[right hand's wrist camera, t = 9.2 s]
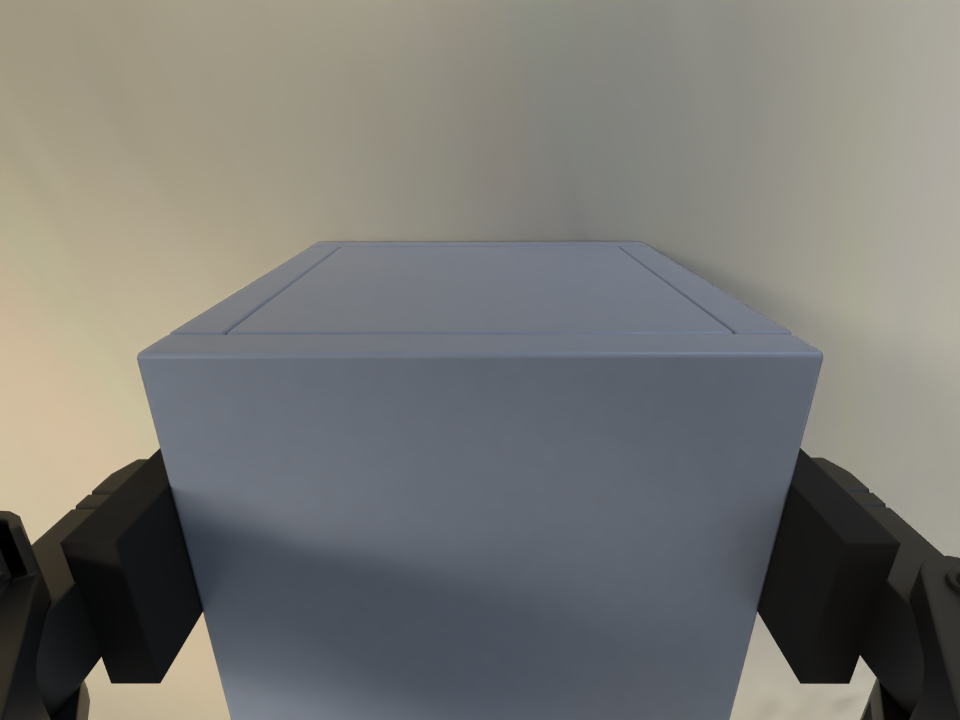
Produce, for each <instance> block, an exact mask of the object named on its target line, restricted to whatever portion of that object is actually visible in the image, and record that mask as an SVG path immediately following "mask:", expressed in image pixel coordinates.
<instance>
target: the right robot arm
mask: <svg viewBox="0 0 960 720" xmlns="http://www.w3.org/2000/svg"><path fill="white" fill-rule="evenodd" d="M202 612H203V609H202V606H201V602H200V598H199V594H198V590H197V586H196V583H195V579H194V575H193V571H192V567H191V563H190V560H189V556H188V552H187V548H186V544H185V540H184V537H183V533H182V529H181V525H180V521H179V517H178V514H177V510H176V506H175V502H174V498H173V494H172V491H171V487H170V483H169V479H168V475H167V471H166V468H165V464H164V460H163V456H162V452H161V448H160V449H159V450H158V451H157V452H156V453H155V454H153V455H152V456H151V457H150V458H149V459H138V460H136V461H134V462H133V463H131V464H129V465H127V466H125V467H124V468H122V469H120V470H118V471H116V472H114V473H113V474H111V475H110V476H109V477H108V478H107V479H105V480H104V481H103V482H102V483H101V484H100V485H99V486H98V487H96V488H95V489H94V490H93V491H92V495H88V496H86V497H85V498H84V499H83V500H82V501H81V502H80V503H79V504H77V505H76V509H75V510H71V511H70V512H68V513H67V514H66V515H65V516H64V517H63V518H62V519H61V520H59V521H58V522H57V523H56V524H55V525H54V526H53V527H52V528H51V529H49V530H48V531H47V532H46V533H45V534H44V535H43V536H42V537H40V538H39V539H38V540H37V541H36V542H35V543H34V544H33V545H31V544H30V541H29V539H28V536H27V534H26V531H25V529H24V526H23V523H22V521H21V518H20V516H18V515H16V514H14V513H12V512H10V511H0V720H88V713H89V704H90V699H89V693H88V689H87V686H86V684H85V681H84V679H85V678H86V677H87V675H88V674H89V673H90V671H91V670H92V669H93V667H94V666H95V665H96V663H97V662H98V661H99V659H100V658H101V656H102V659H103V662H104V665H105V667H106V670H107V673H108V675H109V678H110V681H111V683H161V681H162V679H163V678H164V676H165V674H166V673H167V671H168V669H169V668H170V666H171V664H172V663H173V661H174V659H175V658H176V656H177V654H178V653H179V651H180V649H181V648H182V646H183V644H184V642H185V641H186V639H187V637H188V636H189V634H190V632H191V631H192V629H193V627H194V626H195V624H196V622H197V621H198V619H199V617H200V616H201V614H202ZM758 613H759V615H760V616H761V618H762V620H763V621H764V623H765V625H766V626H767V628H768V630H769V631H770V633H771V635H772V637H773V638H774V640H775V642H776V643H777V645H778V647H779V648H780V650H781V652H782V653H783V655H784V657H785V658H786V660H787V662H788V663H789V665H790V667H791V668H792V670H793V672H794V674H795V675H796V677H797V679H798V680H799V682H800V684H849V683H850V680H851V677H852V675H853V672H854V669H855V667H856V664H857V661H858V658H859V656H861V657H862V658H863V660H864V661H865V662H866V664H867V665H868V666H869V668H870V669H871V670H872V672H873V673H874V674H875V676H876V677H877V679H876V681H875V684H874V686H873V689H872V691H871V694H870V696H869V699H868V702H867V704H866V707H865V709H864V712H863V714H862V717H861V719H860V720H960V558H957V557H952V556H944V555H942V554H941V553H940V552H939V551H938V550H937V549H936V548H935V547H933V546H932V545H931V544H930V543H929V542H928V541H927V540H926V539H924V538H923V537H922V536H921V535H920V534H919V533H918V532H916V531H915V530H914V529H913V528H912V527H911V526H910V525H909V524H907V523H906V522H905V521H904V520H903V519H902V518H901V517H900V516H898V515H897V514H896V513H895V512H894V511H893V510H892V509H891V508H886V506H885V503H884V502H883V501H881V500H880V499H879V498H878V497H877V496H876V495H875V494H874V493H869V489H868V488H867V487H866V486H865V485H863V484H862V483H861V482H860V481H859V480H858V479H857V478H856V477H854V476H853V475H852V474H851V473H850V472H848V471H846V470H844V469H843V468H841V467H839V466H837V465H835V464H833V463H832V462H830V461H828V460H826V459H824V458H810V457H809V456H808V455H807V454H806V453H805V452H804V451H803V450H802V449H801V448H800V449H799V453H798V457H797V461H796V464H795V468H794V472H793V476H792V480H791V484H790V488H789V491H788V495H787V499H786V503H785V507H784V511H783V515H782V518H781V522H780V526H779V530H778V534H777V538H776V542H775V545H774V549H773V553H772V557H771V561H770V565H769V569H768V572H767V576H766V580H765V584H764V588H763V592H762V596H761V599H760V603H759V607H758Z"/></svg>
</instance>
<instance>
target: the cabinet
mask: <svg viewBox="0 0 960 720" xmlns="http://www.w3.org/2000/svg"><path fill="white" fill-rule="evenodd" d="M137 360H138V364H139V368H140V372H141V375H142V379H143V383H144V387H145V391H146V395H147V398H148V402H149V406H150V410H151V414H152V418H153V421H154V425H155V429H156V433H157V437H158V441H159V445H160V448H161V452H162V456H163V460H164V464H165V468H166V471H167V475H168V479H169V483H170V487H171V491H172V494H173V498H174V502H175V506H176V510H177V514H178V517H179V521H180V525H181V529H182V533H183V537H184V540H185V544H186V548H187V552H188V556H189V560H190V563H191V567H192V571H193V575H194V579H195V583H196V586H197V590H198V594H199V598H200V602H201V606H202V609H203V613H204V617H205V621H206V625H207V629H208V632H209V636H210V640H211V644H212V648H213V652H214V655H215V659H216V663H217V667H218V671H219V675H220V678H221V682H222V686H223V690H224V694H225V698H226V702H227V705H228V709H229V713H230V717H231V720H729V719H730V715H731V711H732V707H733V703H734V700H735V696H736V692H737V688H738V684H739V680H740V676H741V673H742V669H743V665H744V661H745V657H746V653H747V649H748V646H749V642H750V638H751V634H752V630H753V626H754V622H755V619H756V615H757V611H758V607H759V603H760V599H761V596H762V592H763V588H764V584H765V580H766V576H767V572H768V569H769V565H770V561H771V557H772V553H773V549H774V545H775V542H776V538H777V534H778V530H779V526H780V522H781V518H782V515H783V511H784V507H785V503H786V499H787V495H788V491H789V488H790V484H791V480H792V476H793V472H794V468H795V464H796V461H797V457H798V453H799V449H800V445H801V441H802V437H803V434H804V430H805V426H806V422H807V418H808V414H809V411H810V407H811V403H812V399H813V395H814V391H815V387H816V384H817V380H818V376H819V372H820V368H821V364H822V360H823V354H822V352H821V351H819V350H817V349H816V348H814V347H812V346H811V345H809V344H808V343H806V342H804V341H803V340H801V339H799V338H798V337H796V336H794V335H792V334H791V332H790V331H788V330H787V329H785V328H783V327H782V326H780V325H778V324H777V323H775V322H773V321H772V320H770V319H768V318H767V317H765V316H763V315H762V314H760V313H758V312H757V311H755V310H753V309H752V308H750V307H748V306H747V305H745V304H743V303H742V302H740V301H739V300H737V299H735V298H734V297H732V296H730V295H729V294H727V293H725V292H724V291H722V290H720V289H719V288H717V287H715V286H714V285H712V284H710V283H709V282H707V281H705V280H704V279H702V278H700V277H699V276H697V275H695V274H694V273H692V272H690V271H689V270H687V269H685V268H684V267H682V266H680V265H679V264H677V263H675V262H674V261H672V260H670V259H669V258H667V257H666V256H664V255H662V254H661V253H659V252H657V251H656V250H654V249H652V248H651V247H649V246H647V245H645V244H644V243H642V242H640V241H635V242H317V243H316V244H314V245H313V246H311V247H310V248H308V249H306V250H305V251H303V252H302V253H300V254H298V255H297V256H295V257H293V258H292V259H290V260H288V261H287V262H285V263H284V264H282V265H280V266H279V267H277V268H275V269H274V270H272V271H270V272H269V273H267V274H266V275H264V276H262V277H261V278H259V279H257V280H256V281H254V282H253V283H251V284H249V285H248V286H246V287H244V288H243V289H241V290H239V291H238V292H236V293H235V294H233V295H231V296H230V297H228V298H226V299H225V300H223V301H221V302H220V303H218V304H217V305H215V306H213V307H212V308H210V309H208V310H207V311H205V312H204V313H202V314H200V315H199V316H197V317H195V318H194V319H192V320H190V321H189V322H187V323H186V324H184V325H182V326H181V327H179V328H177V329H176V330H174V331H173V332H171V333H170V335H168V336H166V337H164V338H162V339H161V340H159V341H157V342H156V343H154V344H152V345H151V346H149V347H148V348H146V349H144V350H143V351H141V352H139V353H138V356H137Z"/></svg>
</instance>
